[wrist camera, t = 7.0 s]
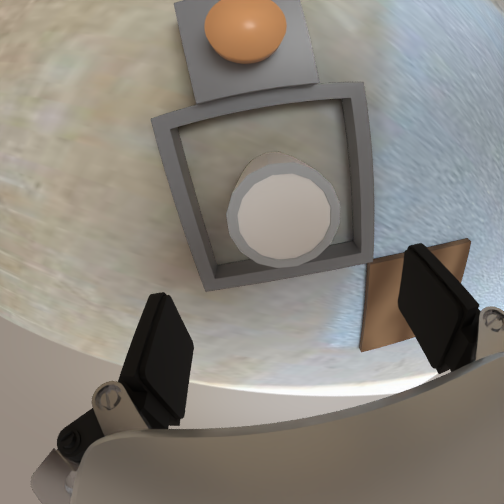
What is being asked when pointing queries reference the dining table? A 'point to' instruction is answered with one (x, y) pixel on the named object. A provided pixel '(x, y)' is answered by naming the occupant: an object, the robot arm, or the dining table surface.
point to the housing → (251, 97)
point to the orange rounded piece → (245, 29)
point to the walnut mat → (387, 291)
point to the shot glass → (282, 211)
